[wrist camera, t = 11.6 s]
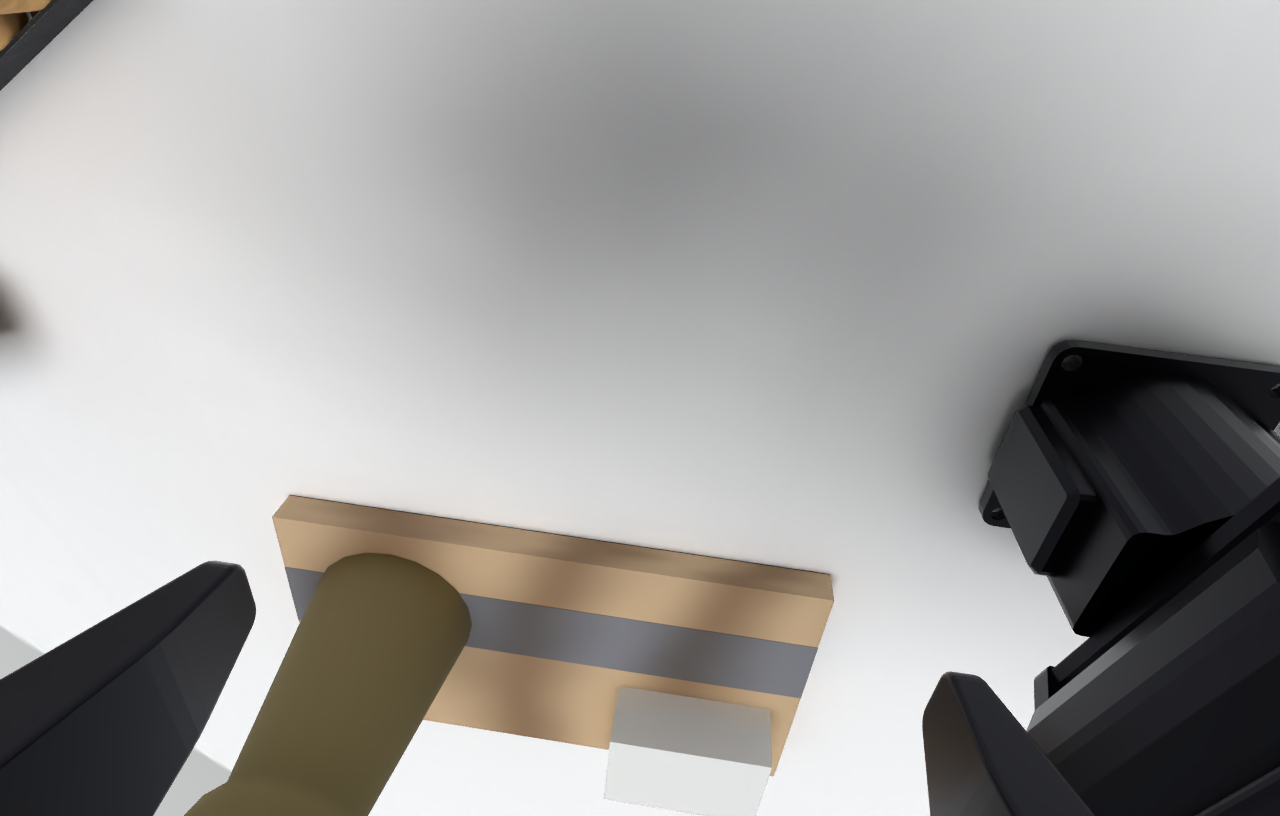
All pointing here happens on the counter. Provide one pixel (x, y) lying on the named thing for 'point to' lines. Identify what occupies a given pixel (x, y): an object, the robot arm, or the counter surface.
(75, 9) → the ammunition clip
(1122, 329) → the counter surface
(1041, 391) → the robot arm
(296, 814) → the cork
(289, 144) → the counter surface
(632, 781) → the white rectangular prism
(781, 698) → the oak plank
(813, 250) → the counter surface
